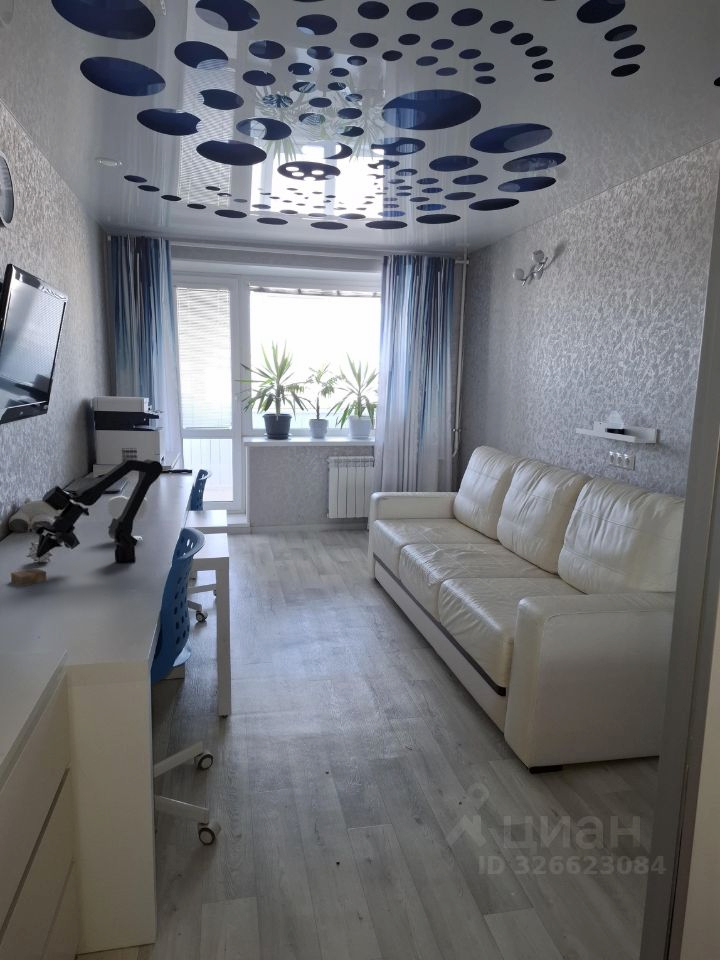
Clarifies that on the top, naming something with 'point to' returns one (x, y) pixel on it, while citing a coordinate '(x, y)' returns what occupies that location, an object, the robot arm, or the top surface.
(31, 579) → the walnut block
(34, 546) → the game die
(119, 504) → the heart sculpture
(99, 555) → the top surface
